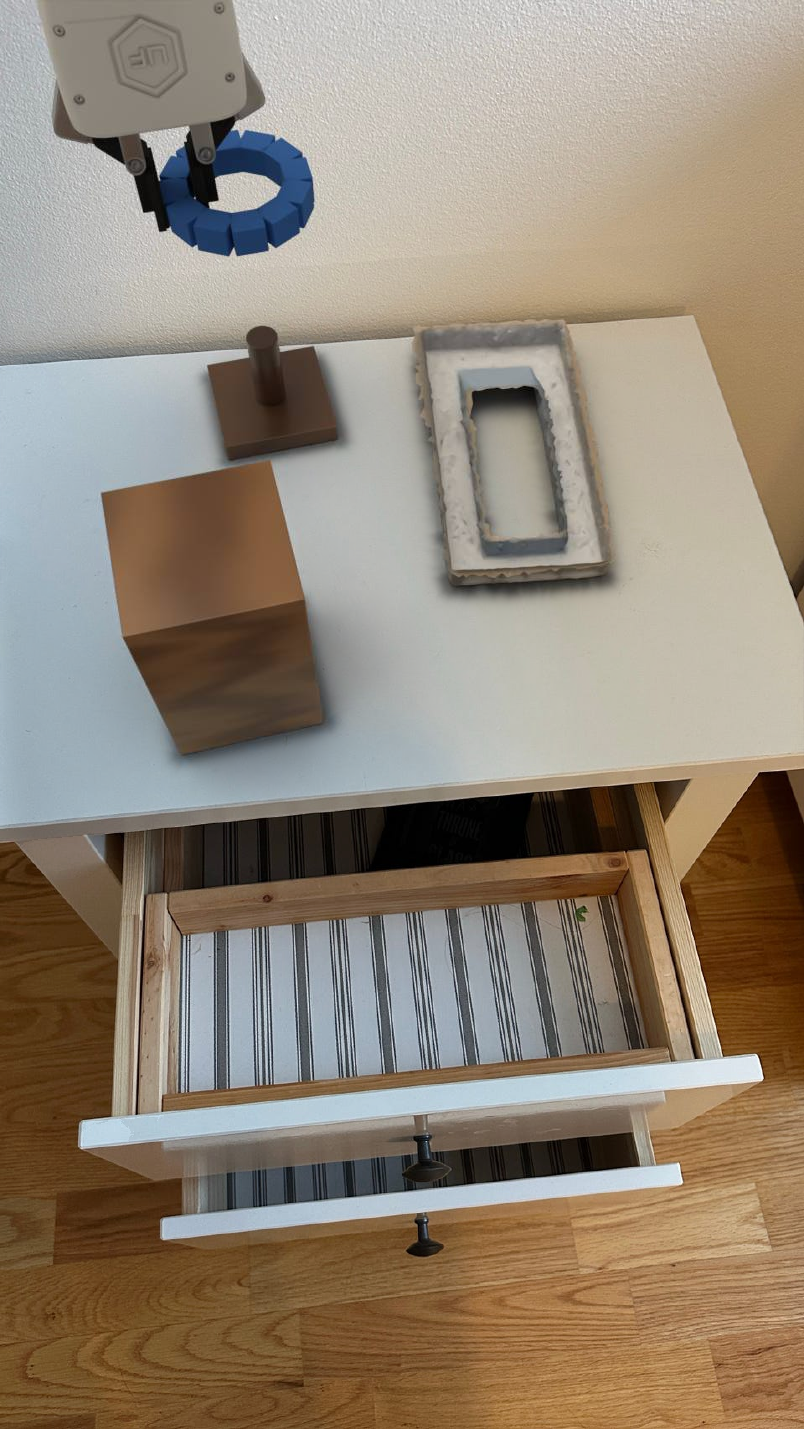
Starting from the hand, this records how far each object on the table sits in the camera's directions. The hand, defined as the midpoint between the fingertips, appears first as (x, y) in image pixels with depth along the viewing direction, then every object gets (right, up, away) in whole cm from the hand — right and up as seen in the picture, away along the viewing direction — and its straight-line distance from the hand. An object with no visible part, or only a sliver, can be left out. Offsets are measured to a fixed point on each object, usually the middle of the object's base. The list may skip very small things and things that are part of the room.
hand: (182, 212), depth 63 cm
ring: (+4, +1, +1) cm, 4 cm away
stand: (+3, -30, +6) cm, 31 cm away
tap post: (+4, -7, +17) cm, 19 cm away
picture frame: (+22, -12, +15) cm, 30 cm away
